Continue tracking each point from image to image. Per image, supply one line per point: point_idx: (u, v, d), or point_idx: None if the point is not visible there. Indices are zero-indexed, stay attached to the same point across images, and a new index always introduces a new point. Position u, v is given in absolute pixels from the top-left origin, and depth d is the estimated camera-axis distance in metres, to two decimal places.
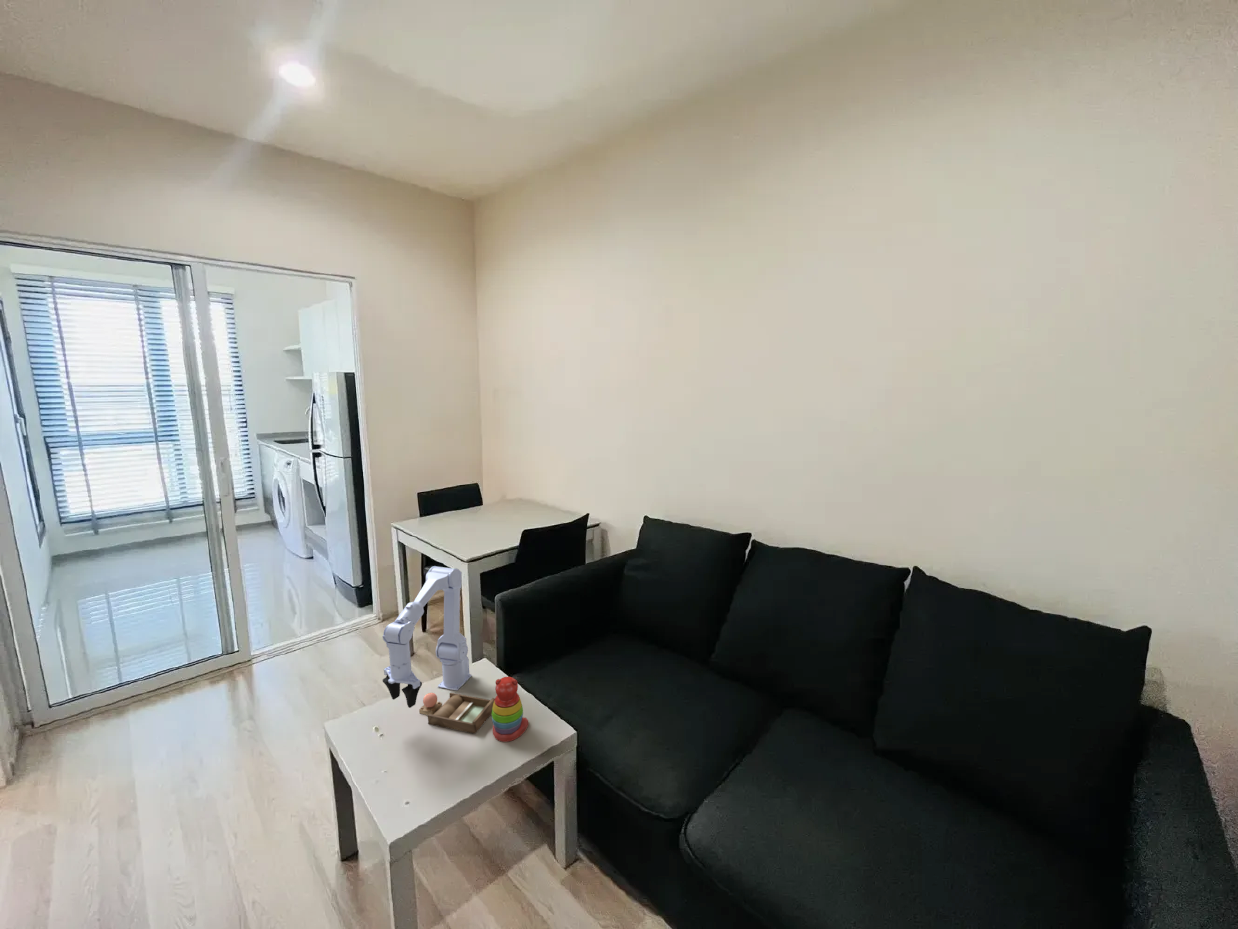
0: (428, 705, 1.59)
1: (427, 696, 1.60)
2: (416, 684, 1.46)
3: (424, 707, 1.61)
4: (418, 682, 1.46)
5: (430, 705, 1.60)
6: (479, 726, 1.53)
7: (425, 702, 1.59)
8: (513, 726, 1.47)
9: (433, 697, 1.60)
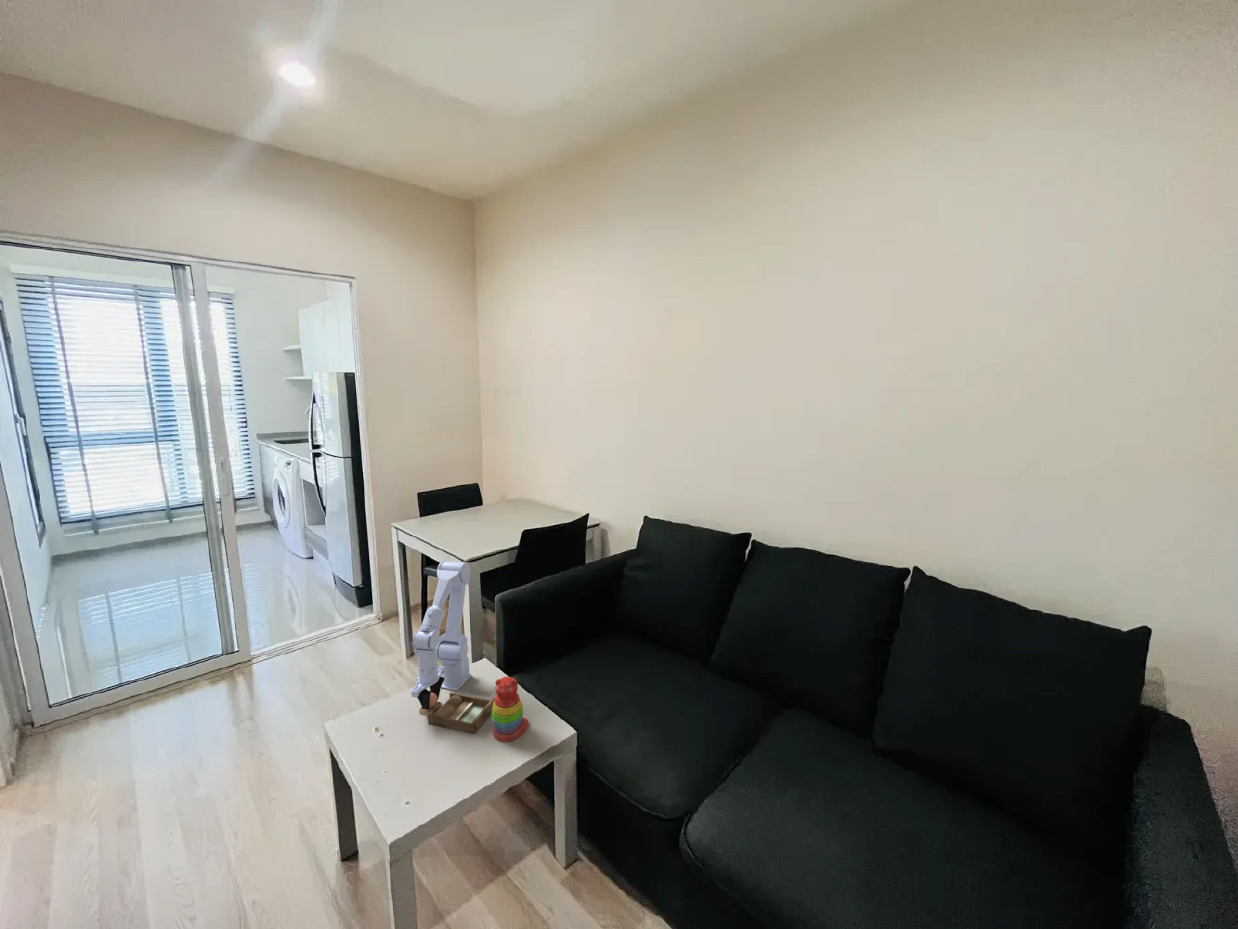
0: None
1: None
2: (413, 693, 1.53)
3: None
4: (415, 693, 1.53)
5: (430, 705, 1.60)
6: (479, 726, 1.53)
7: None
8: (513, 726, 1.47)
9: (433, 697, 1.60)
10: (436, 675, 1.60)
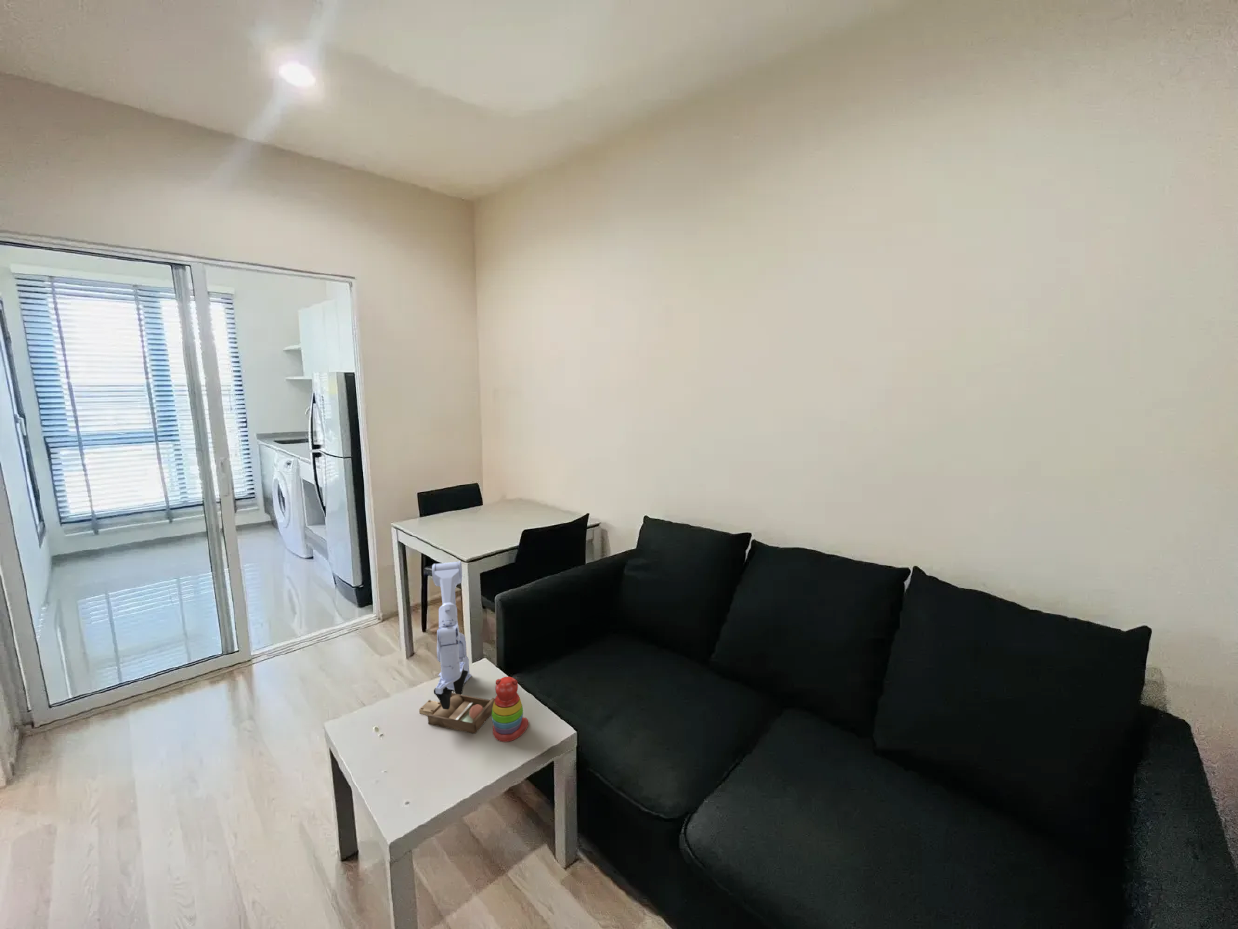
0: (472, 713, 1.55)
1: None
2: (437, 690, 1.51)
3: (424, 707, 1.61)
4: (439, 690, 1.50)
5: (473, 711, 1.55)
6: (479, 726, 1.53)
7: (471, 716, 1.55)
8: (513, 726, 1.47)
9: None
10: (459, 671, 1.57)
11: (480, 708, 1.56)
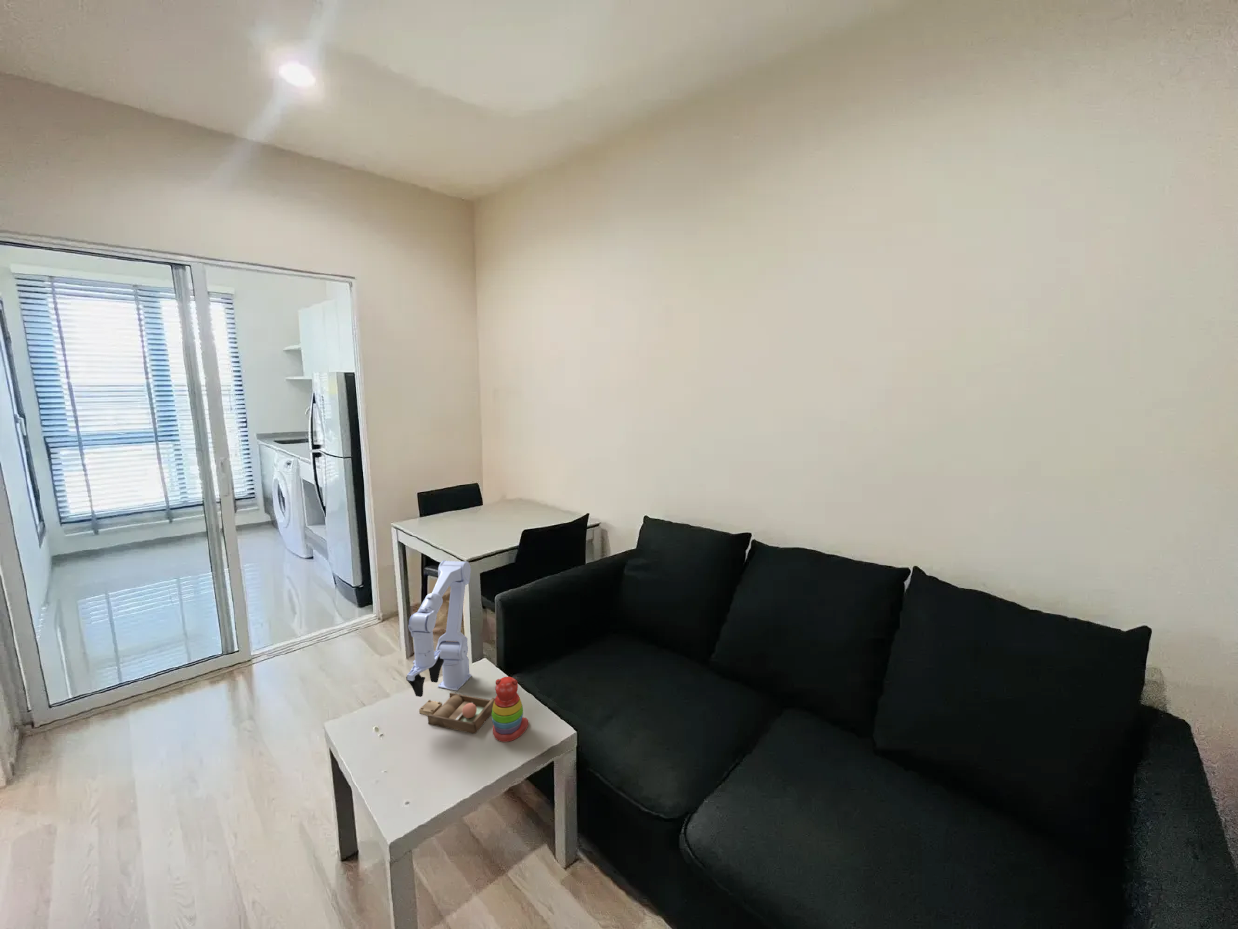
0: (463, 713, 1.56)
1: None
2: (408, 677, 1.49)
3: (424, 707, 1.61)
4: (410, 676, 1.49)
5: (463, 711, 1.56)
6: (479, 726, 1.53)
7: (466, 716, 1.56)
8: (513, 726, 1.47)
9: None
10: (433, 658, 1.55)
11: (466, 704, 1.58)
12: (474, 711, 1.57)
